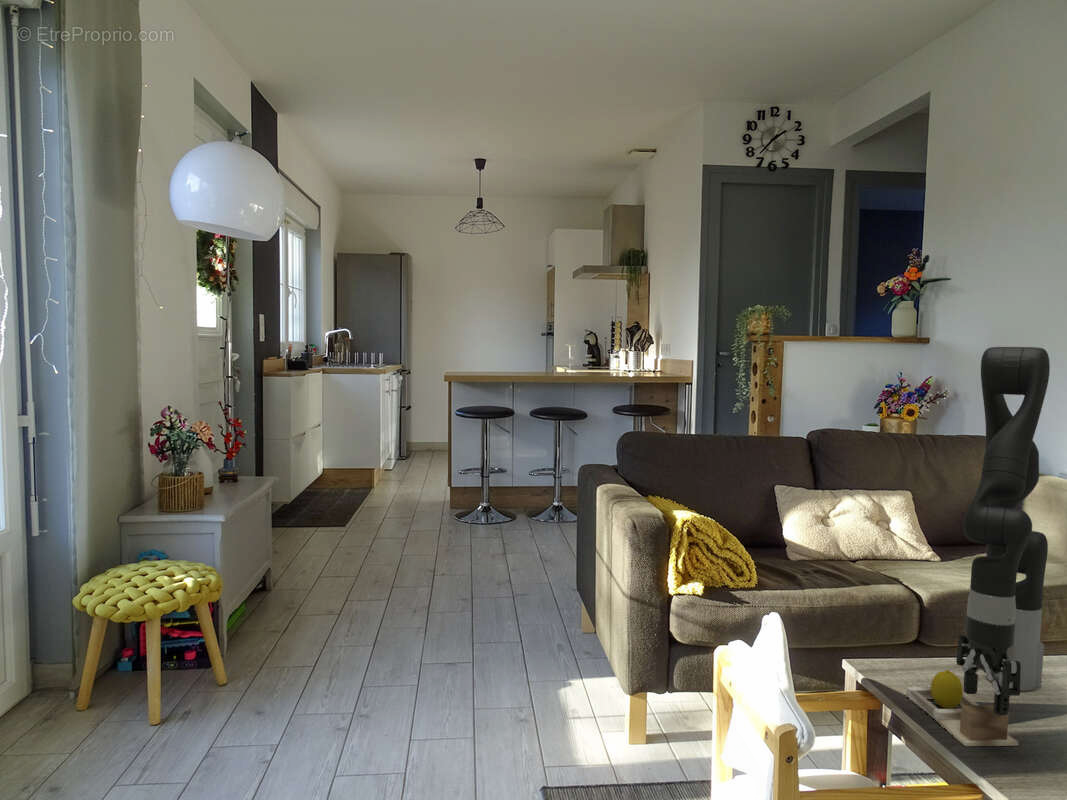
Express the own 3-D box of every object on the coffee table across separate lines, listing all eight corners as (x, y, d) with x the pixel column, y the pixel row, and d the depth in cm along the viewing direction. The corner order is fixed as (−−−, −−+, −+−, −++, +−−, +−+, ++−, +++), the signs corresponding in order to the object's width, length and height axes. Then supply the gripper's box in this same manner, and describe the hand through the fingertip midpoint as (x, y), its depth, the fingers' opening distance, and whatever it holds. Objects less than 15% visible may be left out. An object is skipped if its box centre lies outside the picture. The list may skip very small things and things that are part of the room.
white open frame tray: (953, 696, 159) (954, 669, 158) (1018, 745, 139) (1020, 715, 139) (906, 696, 158) (907, 669, 157) (965, 746, 138) (967, 716, 138)
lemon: (965, 717, 150) (968, 677, 149) (934, 714, 151) (937, 674, 150) (956, 704, 155) (958, 666, 154) (926, 701, 156) (928, 663, 155)
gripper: (1038, 630, 133) (1032, 722, 134) (985, 603, 147) (979, 686, 148) (996, 630, 132) (990, 722, 133) (947, 603, 146) (941, 686, 147)
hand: (984, 703), depth 141 cm, fingers open, 8 cm apart
